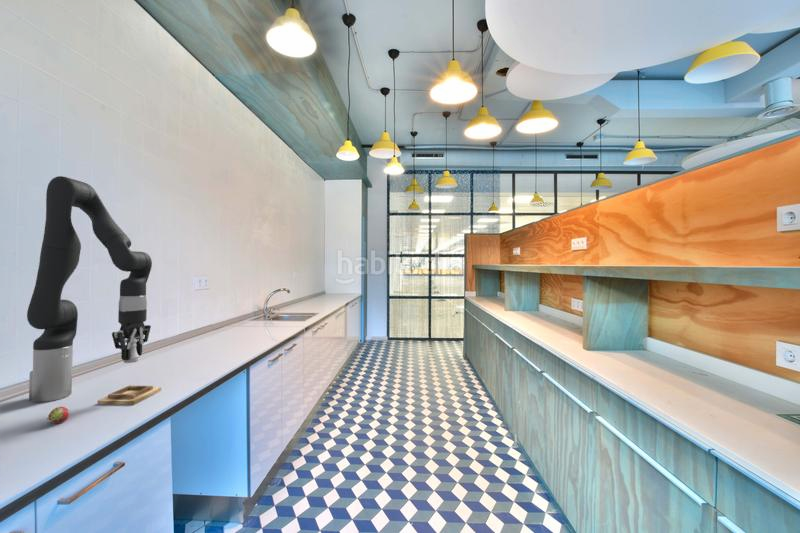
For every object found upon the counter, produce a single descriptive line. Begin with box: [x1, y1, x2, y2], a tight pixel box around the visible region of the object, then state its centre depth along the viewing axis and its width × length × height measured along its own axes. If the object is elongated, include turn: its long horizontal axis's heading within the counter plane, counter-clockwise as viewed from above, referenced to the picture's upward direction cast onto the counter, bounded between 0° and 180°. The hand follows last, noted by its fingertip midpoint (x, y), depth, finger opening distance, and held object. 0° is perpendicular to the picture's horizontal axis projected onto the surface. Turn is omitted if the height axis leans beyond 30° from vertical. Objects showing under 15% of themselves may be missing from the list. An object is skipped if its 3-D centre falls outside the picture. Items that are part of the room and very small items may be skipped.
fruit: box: [46, 406, 70, 424], centre depth 93 cm, size 4×6×5 cm
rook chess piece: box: [122, 338, 140, 364], centre depth 111 cm, size 4×4×8 cm
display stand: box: [97, 385, 162, 406], centre depth 111 cm, size 12×12×2 cm
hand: (131, 357), depth 111 cm, fingers closed on rook chess piece, 4 cm apart
